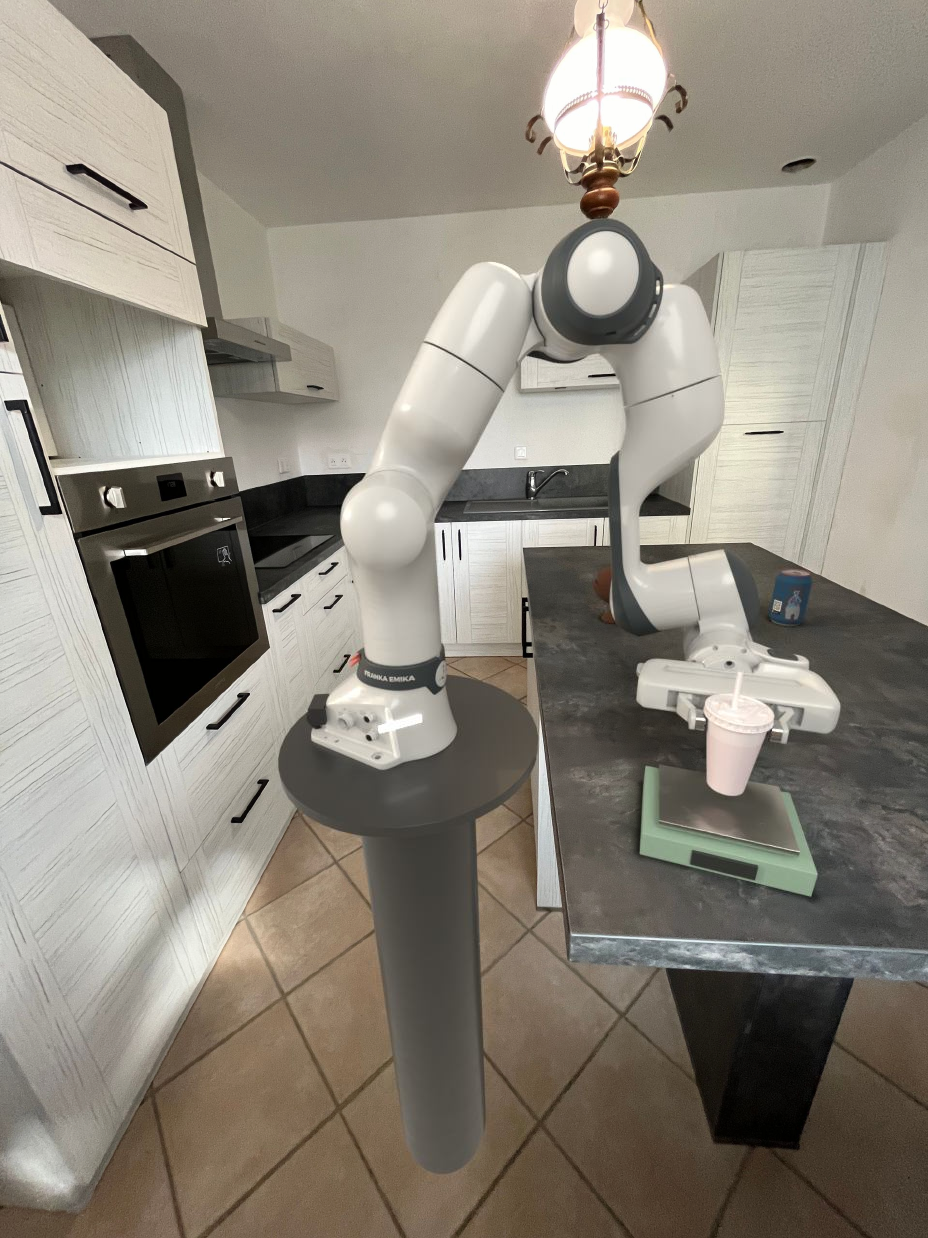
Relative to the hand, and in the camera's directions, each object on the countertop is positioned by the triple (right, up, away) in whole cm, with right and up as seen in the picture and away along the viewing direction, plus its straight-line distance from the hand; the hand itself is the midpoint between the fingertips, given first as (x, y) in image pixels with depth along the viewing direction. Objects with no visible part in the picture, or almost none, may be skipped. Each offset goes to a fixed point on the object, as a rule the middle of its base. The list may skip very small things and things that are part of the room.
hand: (737, 731), depth 50 cm
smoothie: (+1, -7, +4) cm, 8 cm away
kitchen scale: (+1, -13, +6) cm, 14 cm away
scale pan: (+1, -10, +5) cm, 11 cm away
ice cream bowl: (+8, +11, +69) cm, 71 cm away
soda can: (+47, +11, +64) cm, 80 cm away
